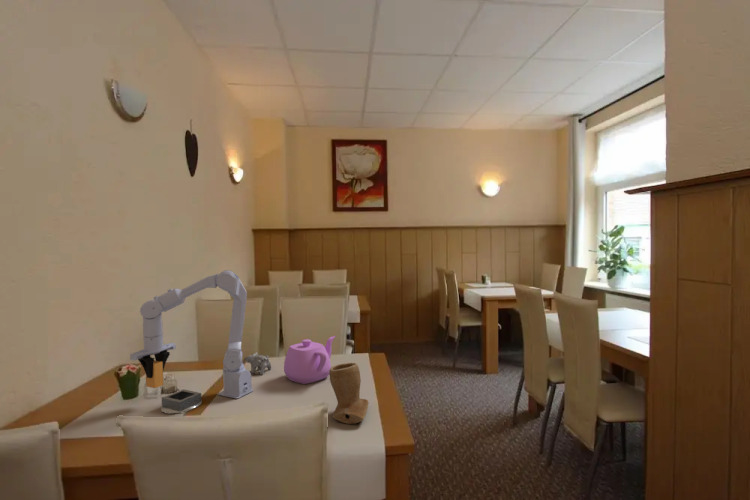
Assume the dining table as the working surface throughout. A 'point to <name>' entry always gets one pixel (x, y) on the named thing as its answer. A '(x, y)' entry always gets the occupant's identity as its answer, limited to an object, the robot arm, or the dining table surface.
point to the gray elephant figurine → (258, 362)
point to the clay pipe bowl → (348, 393)
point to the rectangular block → (156, 375)
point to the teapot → (308, 361)
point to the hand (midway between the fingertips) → (155, 375)
